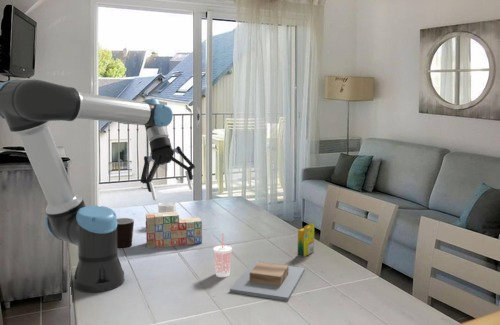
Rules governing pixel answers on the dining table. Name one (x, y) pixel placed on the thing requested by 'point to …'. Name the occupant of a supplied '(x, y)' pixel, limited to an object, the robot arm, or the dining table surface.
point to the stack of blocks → (172, 230)
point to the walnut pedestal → (269, 273)
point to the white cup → (166, 207)
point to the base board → (267, 290)
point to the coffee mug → (124, 232)
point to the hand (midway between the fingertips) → (173, 194)
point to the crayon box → (306, 240)
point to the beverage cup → (222, 259)
